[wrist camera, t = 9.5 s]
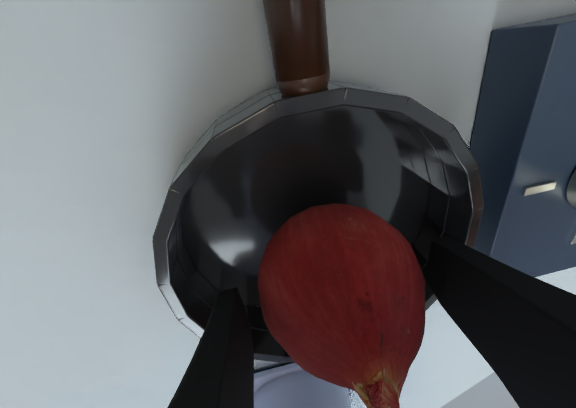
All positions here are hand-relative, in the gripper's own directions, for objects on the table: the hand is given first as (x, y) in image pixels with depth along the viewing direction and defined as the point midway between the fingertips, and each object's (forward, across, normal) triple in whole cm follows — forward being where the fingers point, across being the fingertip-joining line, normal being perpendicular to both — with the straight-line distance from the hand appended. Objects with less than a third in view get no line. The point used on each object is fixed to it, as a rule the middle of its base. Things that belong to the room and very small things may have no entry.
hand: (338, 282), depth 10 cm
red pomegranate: (+4, 0, 0) cm, 4 cm away
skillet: (+4, 0, 0) cm, 4 cm away
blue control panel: (+4, -12, -1) cm, 13 cm away
